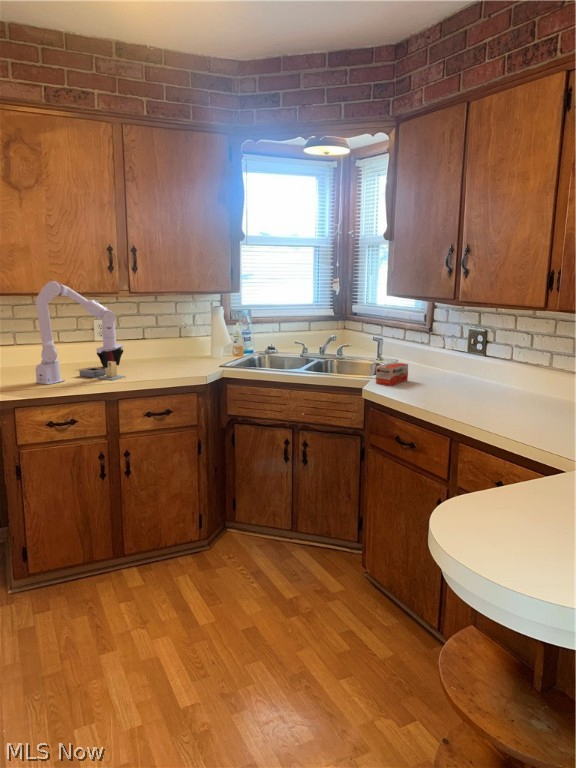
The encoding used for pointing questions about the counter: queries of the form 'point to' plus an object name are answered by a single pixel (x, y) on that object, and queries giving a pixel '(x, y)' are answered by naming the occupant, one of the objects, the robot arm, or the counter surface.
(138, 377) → the counter surface
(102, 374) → the block
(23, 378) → the counter surface
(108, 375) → the beige block
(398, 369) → the medicine box
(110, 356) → the mug
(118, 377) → the slate mat
